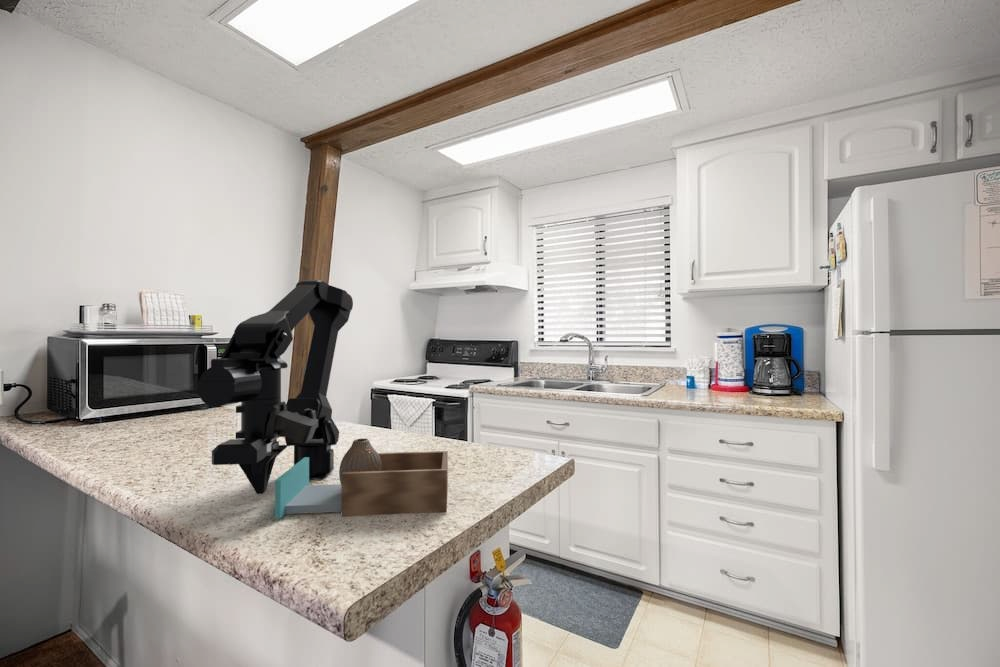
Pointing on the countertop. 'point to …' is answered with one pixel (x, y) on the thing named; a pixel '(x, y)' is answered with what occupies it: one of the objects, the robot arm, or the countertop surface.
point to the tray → (304, 493)
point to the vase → (360, 458)
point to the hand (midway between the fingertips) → (261, 493)
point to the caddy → (398, 485)
